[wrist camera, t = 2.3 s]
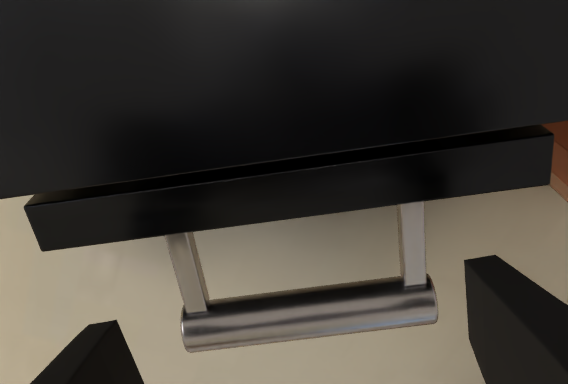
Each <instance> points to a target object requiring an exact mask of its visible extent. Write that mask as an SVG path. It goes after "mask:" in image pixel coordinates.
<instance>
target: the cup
mask: <svg viewBox="0 0 568 384" xmlns="http://www.w3.org/2000/svg"><path fill="white" fill-rule="evenodd" d="M542 125H543V126H544V127H546V128H547V129H548V130H550V131H551V132H552V133H554V146H553V158H552V169H551V181H550V184H549V185H550V186H551V187H552V188H553V189H554V190H555V191H556V192H557V193H558V194H559V195H561V196H562V197H563V198H564V199H565V200H566V201H567V202H568V121H562V122H555V123H548V124H542Z"/></svg>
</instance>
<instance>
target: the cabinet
mask: <svg viewBox="0 0 568 384" xmlns="http://www.w3.org/2000/svg"><path fill="white" fill-rule="evenodd" d="M562 121H568V0H0V199H5V198H12V197H19V196H26V195H34V194H41V193H48V192H55V191H63V190H70V189H77V188H84V187H92V186H99V185H106V184H113V183H120V182H128V181H135V180H142V179H149V178H157V177H164V176H171V175H178V174H186V173H193V172H200V171H207V170H215V169H222V168H229V167H236V166H244V165H251V164H258V163H265V162H273V161H280V160H287V159H294V158H302V157H309V156H316V155H323V154H331V153H338V152H345V151H352V150H360V149H367V148H374V147H381V146H388V145H396V144H403V143H410V142H417V141H425V140H432V139H439V138H446V137H454V136H461V135H468V134H475V133H483V132H490V131H497V130H504V129H512V128H519V127H526V126H533V125H541V124H548V123H555V122H562Z"/></svg>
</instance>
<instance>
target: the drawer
mask: <svg viewBox="0 0 568 384" xmlns="http://www.w3.org/2000/svg"><path fill="white" fill-rule="evenodd" d="M553 146H554V133H552V132H551V131H550V130H548V129H547V128H546V127H544V126H543V125H542V124H541V125H533V126H526V127H519V128H512V129H504V130H497V131H490V132H483V133H475V134H468V135H461V136H454V137H446V138H439V139H432V140H425V141H417V142H410V143H403V144H396V145H388V146H381V147H374V148H367V149H360V150H352V151H345V152H338V153H331V154H323V155H316V156H309V157H302V158H294V159H287V160H280V161H273V162H265V163H258V164H251V165H244V166H236V167H229V168H222V169H215V170H207V171H200V172H193V173H186V174H178V175H171V176H164V177H157V178H149V179H142V180H135V181H128V182H120V183H113V184H106V185H99V186H92V187H84V188H77V189H70V190H63V191H55V192H48V193H41V194H35V195H34V196H33V197H32V198H31V199H30V200H29V201H28V202H27V203H26V205H25V206H24V210H25V212H26V215H27V217H28V219H29V222H30V224H31V227H32V229H33V232H34V234H35V236H36V239H37V241H38V244H39V246H40V249H41V251H43V252H44V251H51V250H59V249H66V248H74V247H81V246H89V245H97V244H104V243H112V242H119V241H127V240H134V239H142V238H150V237H157V236H165V239H166V242H167V246H168V249H169V253H170V256H171V260H172V263H173V267H174V270H175V274H176V277H177V281H178V284H179V288H180V291H181V295H182V299H183V302H184V305H183V308H182V312H181V335H182V340H183V344H184V346H185V349H186V351H187V352H190V353H194V352H202V351H211V350H219V349H227V348H236V347H244V346H252V345H261V344H269V343H277V342H286V341H294V340H302V339H311V338H319V337H327V336H336V335H344V334H352V333H361V332H369V331H377V330H386V329H394V328H402V327H411V326H419V325H427V324H435V323H436V322H437V320H438V303H437V297H436V292H435V288H434V285H433V282H432V279H431V277H430V276H429V274H427V273H426V248H425V215H424V201H430V200H437V199H445V198H452V197H460V196H467V195H475V194H483V193H490V192H498V191H505V190H513V189H520V188H528V187H536V186H543V185H549V184H550V181H551V169H552V158H553ZM392 205H397V222H398V239H399V257H400V274H401V276H397V277H389V278H381V279H373V280H365V281H357V282H349V283H341V284H333V285H325V286H317V287H309V288H301V289H293V290H285V291H277V292H269V293H261V294H253V295H245V296H237V297H229V298H221V299H213V300H209V299H210V298H209V294H208V290H207V286H206V282H205V278H204V274H203V270H202V266H201V262H200V258H199V255H198V251H197V247H196V243H195V239H194V235H193V232H195V231H203V230H210V229H218V228H225V227H233V226H240V225H248V224H256V223H263V222H271V221H278V220H286V219H293V218H301V217H309V216H316V215H324V214H331V213H339V212H346V211H354V210H362V209H369V208H377V207H384V206H392Z"/></svg>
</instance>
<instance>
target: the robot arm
mask: <svg viewBox="0 0 568 384" xmlns="http://www.w3.org/2000/svg"><path fill="white" fill-rule="evenodd" d="M464 265H465V282H466V298H467V314H468V331H469V340H470V343H471V346H472V348H473V351H474V354H475V357H476V359H477V362H478V365H479V367H480V370H481V373H482V375H483V378H484V380H485V383H486V384H568V305H567V304H565V303H563V302H562V301H560V300H559V299H558V298H556V297H555V296H553V295H552V294H550V293H549V292H547V291H546V290H544V289H543V288H542V287H540V286H539V285H537V284H536V283H534V282H533V281H532V280H530V279H529V278H527V277H526V276H525V275H523V274H522V273H520V272H519V271H518V270H516V269H515V268H513V267H512V266H511V265H509V264H508V263H506V262H505V261H503V260H502V259H501V258H499V257H498V256H496V255H492V256H486V257H480V258H474V259H468V260H464ZM30 384H144V382H143V380H142V377H141V375H140V373H139V371H138V368H137V366H136V364H135V361H134V359H133V357H132V354H131V352H130V350H129V347H128V345H127V343H126V341H125V338H124V336H123V334H122V331H121V329H120V327H119V324H118V322H117V320H114V321H108V322H102V323H96V324H90V325H88V326H87V327H86V328H85V329H84V330H83V331H81V332H80V333H79V334H78V335H77V336H76V337H75V338H74V339H73V340H72V341H71V342H70V343H69V344H68V345H67V346H66V347H65V348H64V349H63V350H62V351H61V352H60V353H59V355H58V356H57V357H56V358H55V359H54V360H53V361H52V362H51V363H50V364H49V365H48V366H47V367H46V368H45V369H44V370H43V371H42V372H41V373H40V374H39V375H38V376H37V377H36V378H35V379H34V380H33V381H32V382H31V383H30Z"/></svg>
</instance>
